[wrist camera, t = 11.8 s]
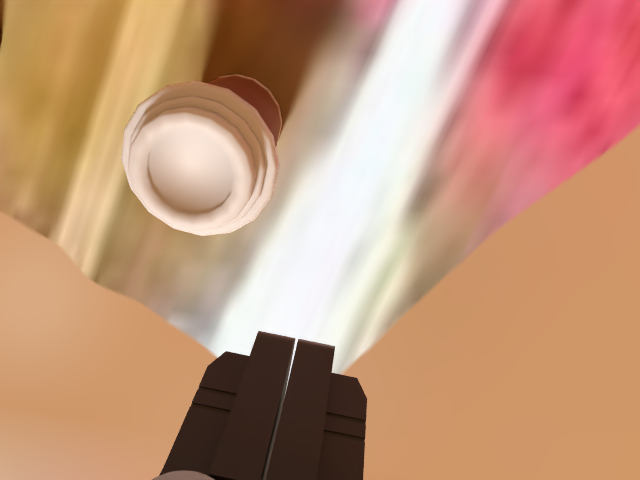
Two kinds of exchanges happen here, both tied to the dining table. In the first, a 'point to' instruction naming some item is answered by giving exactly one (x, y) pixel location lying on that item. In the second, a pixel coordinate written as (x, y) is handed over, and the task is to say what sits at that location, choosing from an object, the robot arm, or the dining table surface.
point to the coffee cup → (204, 153)
